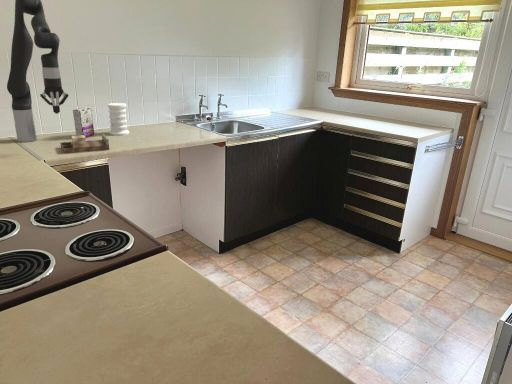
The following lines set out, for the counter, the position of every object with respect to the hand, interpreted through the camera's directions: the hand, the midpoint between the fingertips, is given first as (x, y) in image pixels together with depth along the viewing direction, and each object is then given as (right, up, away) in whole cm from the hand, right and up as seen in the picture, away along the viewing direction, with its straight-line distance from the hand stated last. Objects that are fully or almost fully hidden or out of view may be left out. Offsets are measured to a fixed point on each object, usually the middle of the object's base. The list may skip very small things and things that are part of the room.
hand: (56, 113), depth 193 cm
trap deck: (+9, -16, +12) cm, 22 cm away
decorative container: (+14, -3, +49) cm, 51 cm away
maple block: (+7, -14, +10) cm, 18 cm away
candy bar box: (-2, -6, +38) cm, 38 cm away
